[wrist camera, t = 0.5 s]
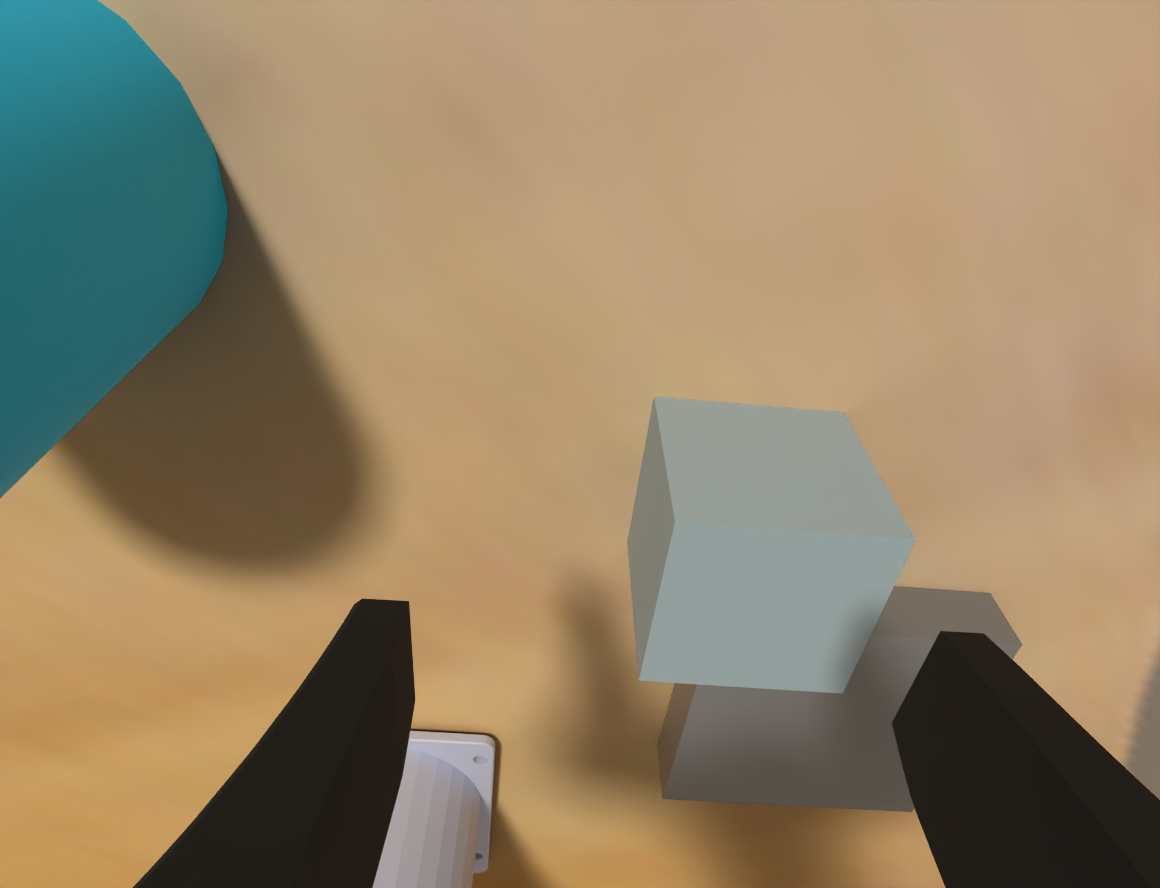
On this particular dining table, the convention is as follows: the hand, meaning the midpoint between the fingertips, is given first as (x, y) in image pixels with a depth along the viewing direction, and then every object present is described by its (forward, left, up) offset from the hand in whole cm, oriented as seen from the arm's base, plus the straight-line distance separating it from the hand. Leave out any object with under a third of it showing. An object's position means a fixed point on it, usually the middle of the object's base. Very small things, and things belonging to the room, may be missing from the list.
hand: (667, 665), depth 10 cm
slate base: (-12, -8, -10) cm, 17 cm away
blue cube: (-4, -3, -10) cm, 11 cm away
